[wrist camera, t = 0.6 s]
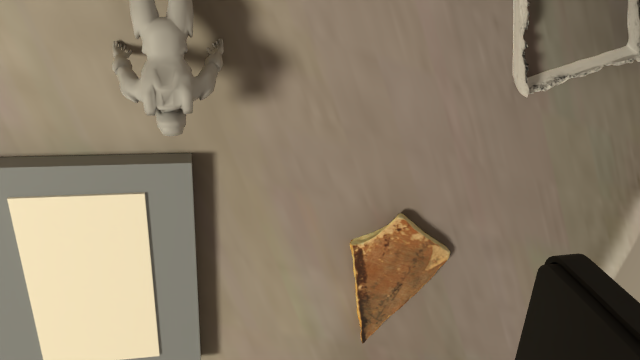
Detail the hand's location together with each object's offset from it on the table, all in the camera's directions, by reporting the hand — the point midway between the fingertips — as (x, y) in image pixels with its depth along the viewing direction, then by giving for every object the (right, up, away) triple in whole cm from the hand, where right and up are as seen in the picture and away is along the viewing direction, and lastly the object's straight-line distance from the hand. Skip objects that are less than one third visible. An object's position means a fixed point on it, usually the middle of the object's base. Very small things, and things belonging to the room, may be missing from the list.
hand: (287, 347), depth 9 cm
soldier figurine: (-8, +13, +23) cm, 27 cm away
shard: (+7, -4, +36) cm, 37 cm away
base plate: (-15, -4, +29) cm, 33 cm away
